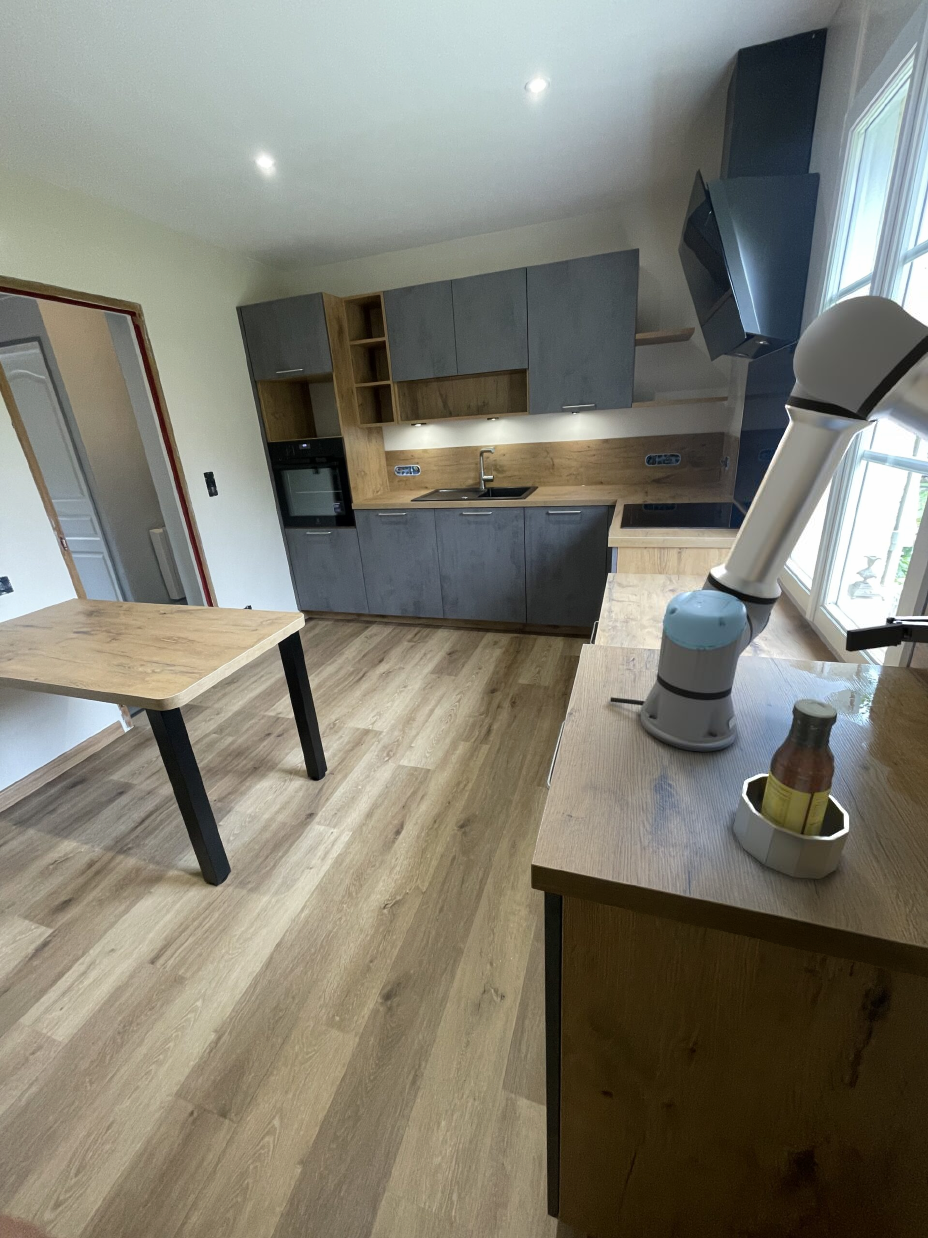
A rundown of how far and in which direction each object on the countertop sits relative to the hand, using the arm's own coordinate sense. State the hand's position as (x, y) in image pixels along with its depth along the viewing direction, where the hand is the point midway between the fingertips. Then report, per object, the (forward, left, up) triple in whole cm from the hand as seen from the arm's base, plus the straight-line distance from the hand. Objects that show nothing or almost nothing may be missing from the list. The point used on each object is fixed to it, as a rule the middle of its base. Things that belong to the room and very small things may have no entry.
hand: (893, 659), depth 56 cm
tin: (-6, -9, -24) cm, 26 cm away
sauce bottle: (-6, -9, -24) cm, 26 cm away
